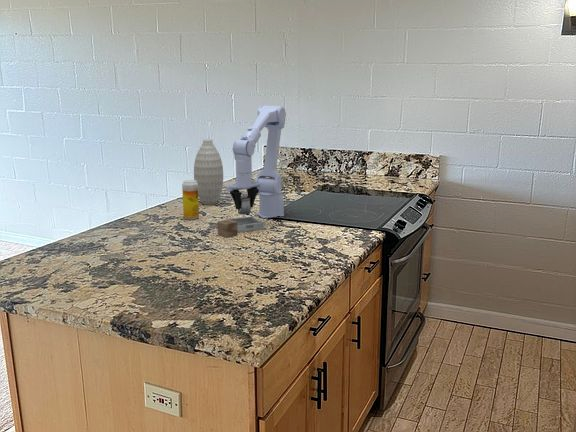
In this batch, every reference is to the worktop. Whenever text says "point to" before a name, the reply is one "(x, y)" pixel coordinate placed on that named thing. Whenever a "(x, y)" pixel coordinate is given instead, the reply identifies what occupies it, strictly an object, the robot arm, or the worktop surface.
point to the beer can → (190, 199)
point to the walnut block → (227, 228)
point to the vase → (208, 173)
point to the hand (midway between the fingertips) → (244, 208)
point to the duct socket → (246, 226)
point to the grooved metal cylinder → (245, 205)
